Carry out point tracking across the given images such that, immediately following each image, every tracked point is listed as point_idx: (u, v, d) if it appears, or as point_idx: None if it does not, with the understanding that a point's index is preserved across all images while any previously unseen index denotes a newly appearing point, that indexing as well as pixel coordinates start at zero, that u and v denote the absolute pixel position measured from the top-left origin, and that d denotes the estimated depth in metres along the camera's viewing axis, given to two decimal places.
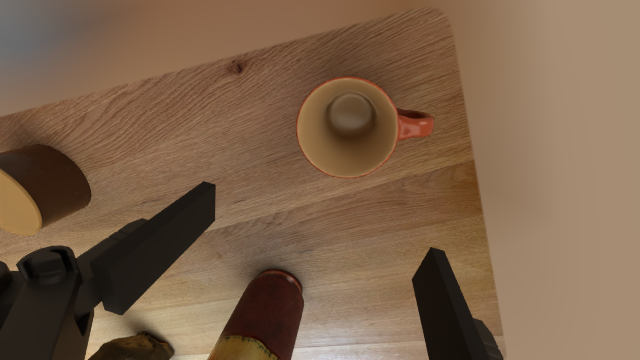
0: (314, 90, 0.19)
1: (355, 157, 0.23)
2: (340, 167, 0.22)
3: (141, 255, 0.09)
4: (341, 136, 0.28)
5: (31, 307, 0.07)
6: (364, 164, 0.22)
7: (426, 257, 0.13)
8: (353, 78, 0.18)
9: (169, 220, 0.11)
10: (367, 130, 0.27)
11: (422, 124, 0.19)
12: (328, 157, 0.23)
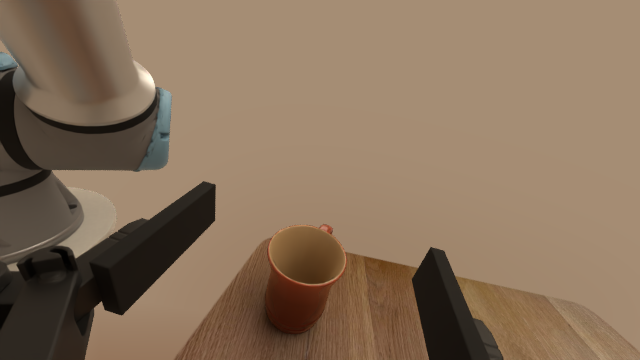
0: (268, 251, 0.24)
1: (331, 273, 0.27)
2: (335, 275, 0.25)
3: (141, 255, 0.09)
4: None
5: (31, 307, 0.07)
6: (338, 260, 0.27)
7: (426, 257, 0.13)
8: (278, 231, 0.27)
9: (169, 220, 0.11)
10: None
11: (324, 225, 0.32)
12: None
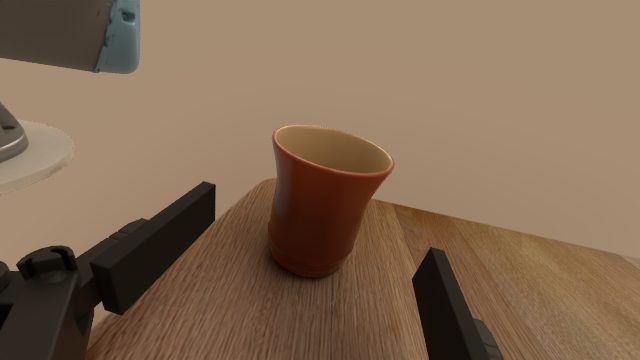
0: (274, 137, 0.16)
1: None
2: None
3: (141, 255, 0.09)
4: None
5: (31, 307, 0.07)
6: (378, 164, 0.18)
7: (426, 257, 0.13)
8: None
9: (169, 220, 0.11)
10: None
11: None
12: None
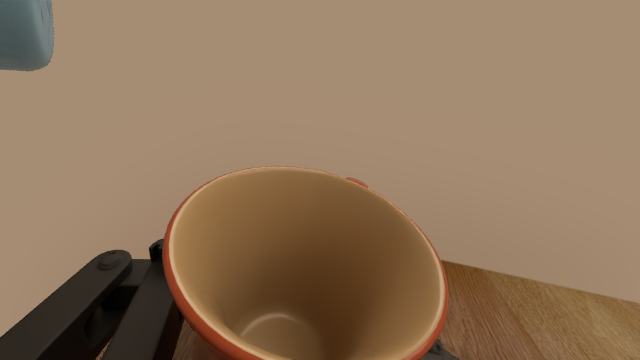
0: (175, 217, 0.07)
1: (383, 296, 0.09)
2: (411, 308, 0.07)
3: None
4: None
5: (152, 288, 0.08)
6: (405, 256, 0.09)
7: None
8: (232, 172, 0.10)
9: None
10: (326, 332, 0.13)
11: (350, 178, 0.14)
12: (369, 349, 0.06)
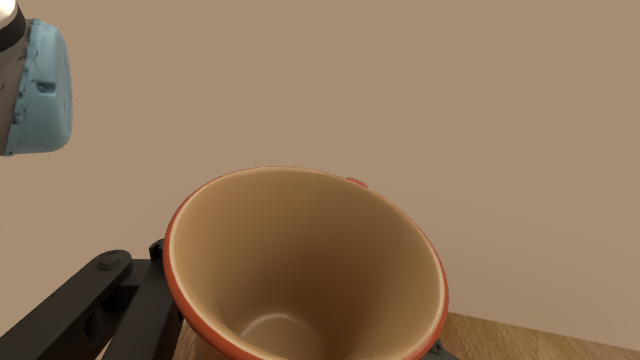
0: (175, 217, 0.07)
1: (383, 296, 0.09)
2: (411, 308, 0.07)
3: None
4: None
5: (152, 288, 0.08)
6: (405, 256, 0.09)
7: None
8: (232, 173, 0.10)
9: None
10: (326, 333, 0.13)
11: (350, 178, 0.14)
12: (369, 349, 0.06)
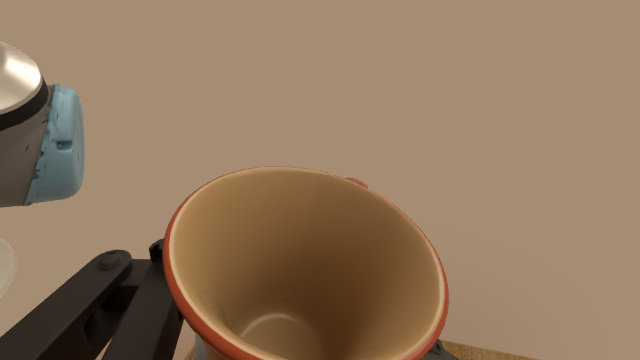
0: (175, 217, 0.07)
1: (383, 296, 0.09)
2: (411, 308, 0.07)
3: None
4: None
5: (152, 288, 0.08)
6: (405, 256, 0.09)
7: None
8: (232, 173, 0.10)
9: None
10: (326, 333, 0.13)
11: (350, 178, 0.14)
12: (369, 349, 0.06)
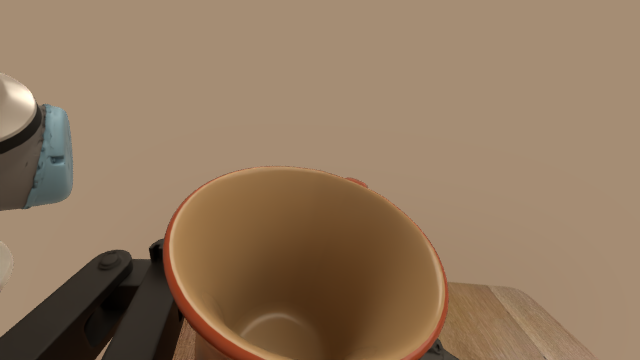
0: (175, 217, 0.07)
1: (383, 296, 0.09)
2: (411, 307, 0.07)
3: None
4: None
5: (152, 288, 0.08)
6: (404, 256, 0.09)
7: None
8: (232, 172, 0.10)
9: None
10: (326, 332, 0.13)
11: None
12: (369, 348, 0.06)
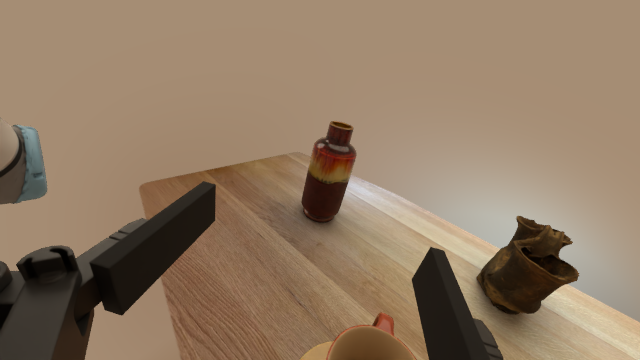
0: None
1: None
2: None
3: (141, 255, 0.09)
4: None
5: (31, 307, 0.07)
6: None
7: (426, 257, 0.13)
8: (333, 344, 0.20)
9: (169, 221, 0.11)
10: None
11: (383, 316, 0.24)
12: None
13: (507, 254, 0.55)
